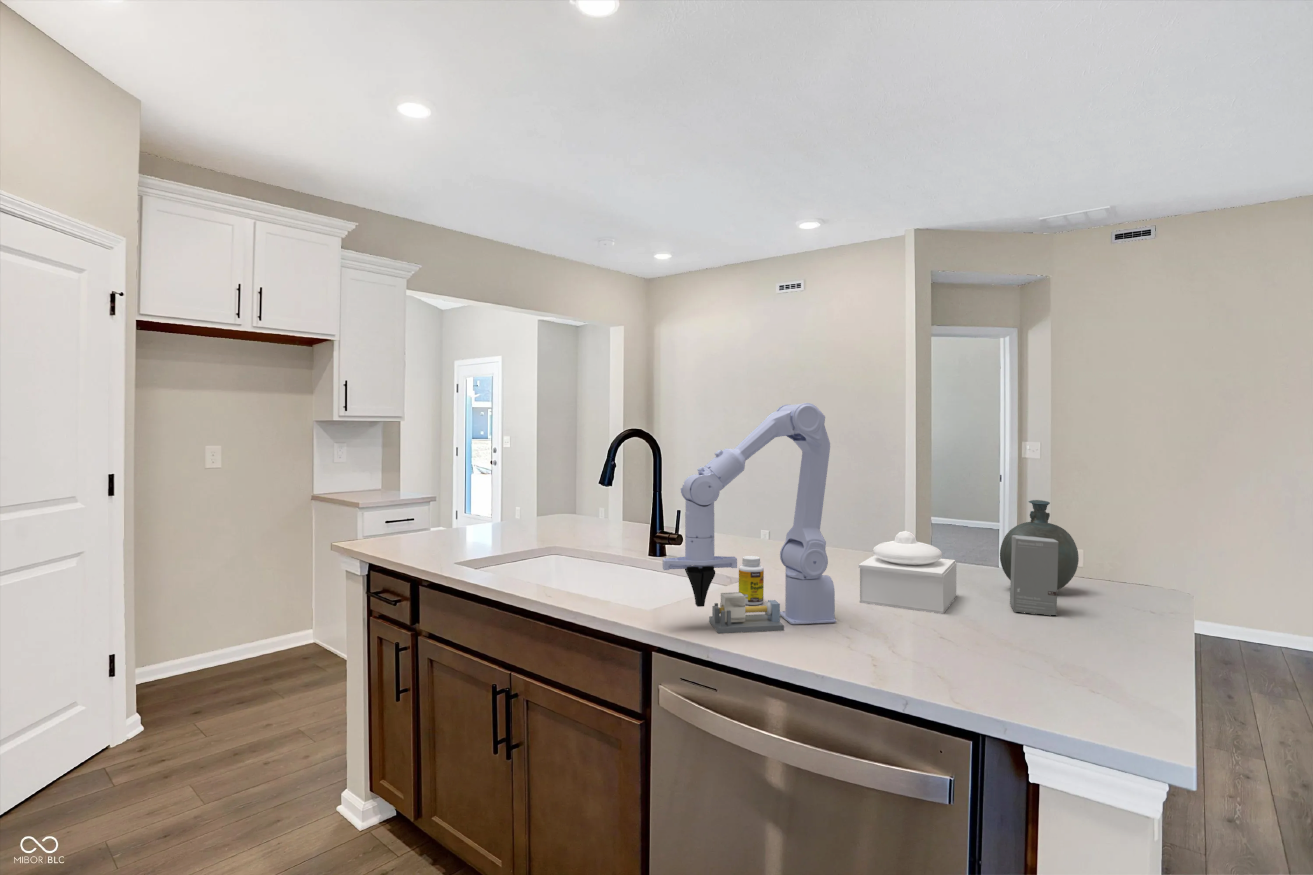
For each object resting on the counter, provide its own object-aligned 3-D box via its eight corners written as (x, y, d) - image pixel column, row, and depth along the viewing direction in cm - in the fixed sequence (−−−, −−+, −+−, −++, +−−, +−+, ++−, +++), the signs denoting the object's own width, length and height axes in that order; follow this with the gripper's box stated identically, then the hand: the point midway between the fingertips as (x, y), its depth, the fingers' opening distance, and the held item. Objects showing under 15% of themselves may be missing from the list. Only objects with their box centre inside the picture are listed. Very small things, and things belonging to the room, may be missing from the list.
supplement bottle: (750, 607, 143) (750, 560, 143) (733, 601, 148) (733, 556, 148) (768, 603, 146) (768, 557, 146) (752, 598, 151) (752, 554, 151)
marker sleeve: (740, 616, 131) (740, 592, 131) (745, 621, 127) (745, 596, 127) (720, 616, 130) (720, 592, 130) (725, 622, 127) (725, 597, 127)
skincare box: (1013, 613, 138) (1013, 538, 138) (1009, 605, 145) (1009, 533, 145) (1059, 617, 135) (1059, 540, 135) (1053, 608, 142) (1053, 535, 142)
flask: (1085, 601, 148) (1086, 504, 148) (1001, 594, 154) (1001, 501, 154) (1075, 589, 159) (1075, 499, 159) (996, 583, 165) (996, 496, 165)
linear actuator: (771, 618, 134) (771, 596, 134) (784, 630, 126) (784, 607, 126) (709, 621, 132) (709, 599, 132) (718, 633, 124) (718, 609, 124)
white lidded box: (956, 597, 152) (956, 529, 152) (942, 615, 137) (942, 540, 137) (879, 587, 162) (879, 523, 162) (858, 603, 147) (858, 533, 147)
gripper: (730, 532, 133) (730, 598, 133) (660, 533, 131) (660, 601, 131) (739, 537, 126) (740, 607, 126) (665, 539, 124) (665, 610, 124)
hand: (699, 605), depth 128 cm, fingers closed
